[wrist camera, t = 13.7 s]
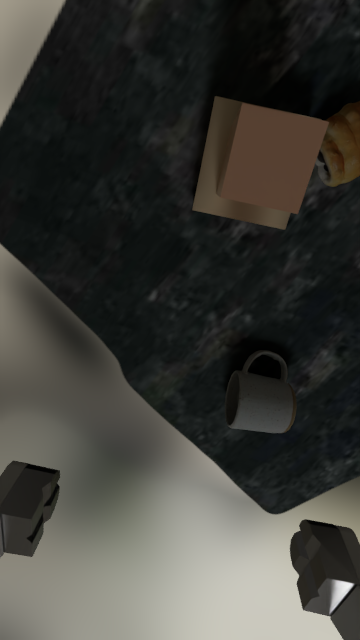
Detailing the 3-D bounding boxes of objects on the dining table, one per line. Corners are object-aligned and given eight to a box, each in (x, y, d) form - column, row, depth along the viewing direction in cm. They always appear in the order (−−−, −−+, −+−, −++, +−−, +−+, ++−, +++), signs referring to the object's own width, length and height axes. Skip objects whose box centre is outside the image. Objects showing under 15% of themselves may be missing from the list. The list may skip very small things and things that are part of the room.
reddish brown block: (293, 139, 28) (329, 121, 20) (272, 206, 31) (297, 214, 23) (231, 126, 28) (242, 102, 20) (216, 194, 31) (220, 197, 23)
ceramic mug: (274, 410, 47) (287, 450, 40) (222, 401, 47) (226, 439, 40) (296, 352, 42) (315, 384, 35) (239, 341, 42) (246, 372, 35)
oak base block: (307, 126, 31) (321, 119, 28) (276, 224, 35) (285, 229, 32) (213, 106, 31) (215, 96, 28) (193, 207, 35) (192, 209, 32)
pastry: (388, 73, 29) (413, 58, 26) (411, 138, 31) (437, 133, 28) (298, 137, 32) (310, 132, 28) (325, 194, 34) (338, 195, 31)
